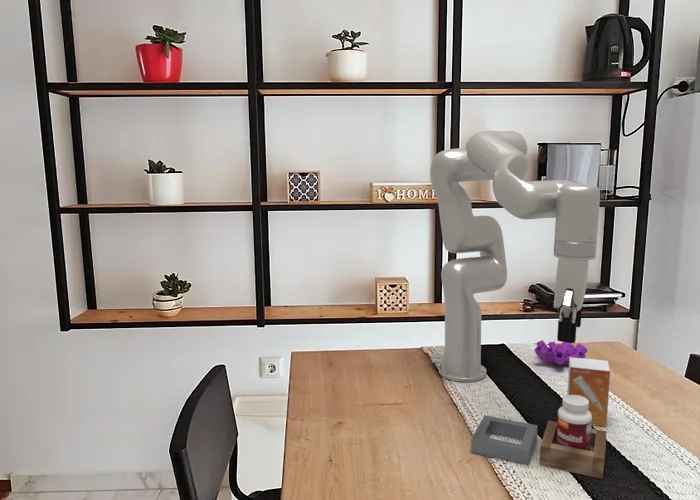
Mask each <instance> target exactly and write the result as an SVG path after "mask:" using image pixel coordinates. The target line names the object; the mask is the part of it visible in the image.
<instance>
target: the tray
mask: <svg viewBox="0 0 700 500" xmlns="http://www.w3.org/2000/svg"><path fill="white" fill-rule="evenodd" d="M607 433H608V432H607V431H606V430H601V429H596V428H591V442H590V451H587V450H582V449H577V448H572V447H567V446H562V445H557V444H556V437H557V421H552V420H547V424H546V427H545V430H544V433H543V436H542V439H541V442H540V446H539V447H540V448H539V450H540V451H539V466H543V467H546V468H551V469H555V468H556V470H560V471H564V472H570V473H574V474H577V475H584V476H588V477H593V478H595V479H596V478H597V479H601V480H603V477H604V467H605V458H606V448H607V446H606V445H607V444H606V443H607Z"/></svg>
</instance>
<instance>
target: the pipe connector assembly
mask: <svg viewBox="0 0 700 500" xmlns="http://www.w3.org/2000/svg"><path fill="white" fill-rule="evenodd" d="M588 350H589V349H588V348H587V347H586V346H584V345H583V344H581V343H580V342H578V343H577V344H576V345H574V344H573V343H568V342H561V343H557V344H556V341H549V342H548V344H546V342H545V341H544V340H543V339H541V340H539V341H537V342H536V347H535V348H534V353H535V354H536V356H537V357H538V358H539V359H540V360H542V361H545V362H547V363H551V364H557V365H559V366H562V365H564V366H569V357H573V358H586V354H587V353H588Z"/></svg>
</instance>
